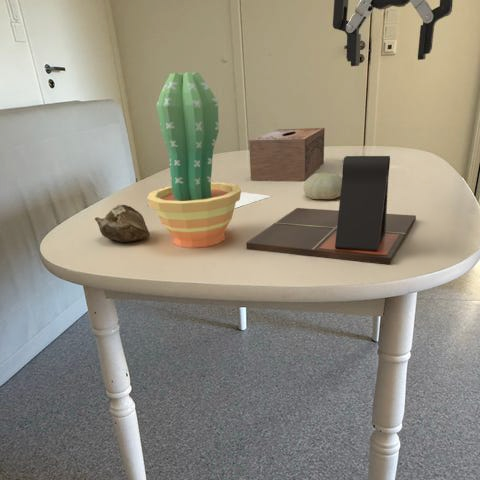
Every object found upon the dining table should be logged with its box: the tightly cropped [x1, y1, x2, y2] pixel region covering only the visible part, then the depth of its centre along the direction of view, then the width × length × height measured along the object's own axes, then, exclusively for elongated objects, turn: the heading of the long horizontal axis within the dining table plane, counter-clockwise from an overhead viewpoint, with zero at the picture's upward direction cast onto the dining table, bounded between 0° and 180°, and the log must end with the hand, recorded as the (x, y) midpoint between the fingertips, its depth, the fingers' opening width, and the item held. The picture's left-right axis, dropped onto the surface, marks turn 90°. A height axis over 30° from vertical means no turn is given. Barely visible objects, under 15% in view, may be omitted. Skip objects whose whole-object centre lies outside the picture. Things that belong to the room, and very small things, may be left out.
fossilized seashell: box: [94, 204, 150, 243], centre depth 78 cm, size 8×7×10 cm
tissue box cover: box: [248, 127, 326, 182], centre depth 124 cm, size 26×14×10 cm, turn 160°
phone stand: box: [335, 155, 391, 251], centre depth 64 cm, size 9×6×12 cm, turn 157°
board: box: [245, 207, 417, 265], centre depth 74 cm, size 22×22×1 cm
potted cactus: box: [146, 71, 242, 249], centre depth 70 cm, size 15×15×25 cm
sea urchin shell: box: [303, 172, 342, 201], centre depth 96 cm, size 9×8×8 cm
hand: (387, 62), depth 59 cm, fingers open, 8 cm apart
